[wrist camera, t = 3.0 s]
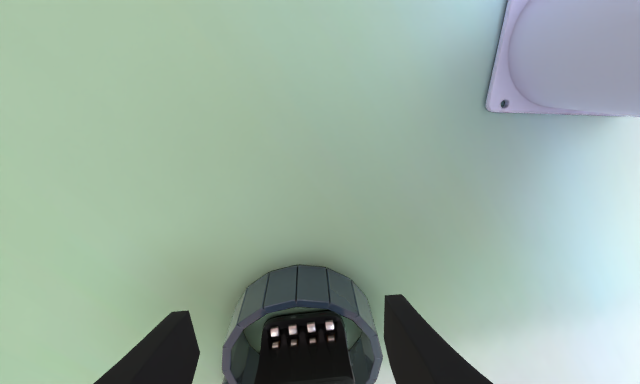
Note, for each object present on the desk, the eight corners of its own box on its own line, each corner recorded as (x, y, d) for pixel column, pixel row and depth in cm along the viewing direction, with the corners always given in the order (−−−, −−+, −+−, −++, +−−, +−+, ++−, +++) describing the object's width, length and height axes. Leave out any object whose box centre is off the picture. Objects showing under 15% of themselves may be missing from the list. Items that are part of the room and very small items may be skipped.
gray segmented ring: (316, 238, 22) (318, 270, 18) (396, 330, 25) (411, 371, 21) (180, 332, 24) (158, 376, 21) (269, 404, 28) (264, 452, 24)
